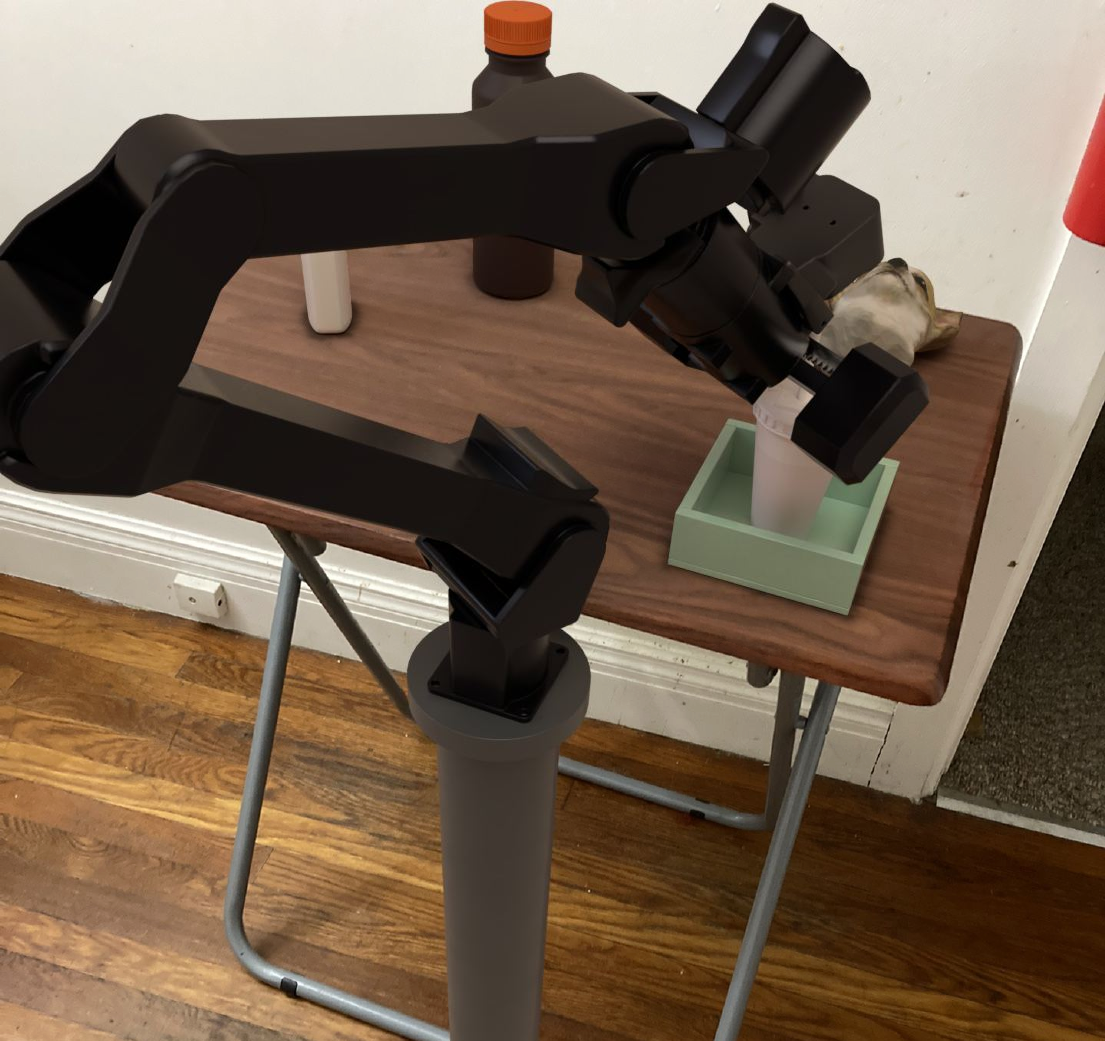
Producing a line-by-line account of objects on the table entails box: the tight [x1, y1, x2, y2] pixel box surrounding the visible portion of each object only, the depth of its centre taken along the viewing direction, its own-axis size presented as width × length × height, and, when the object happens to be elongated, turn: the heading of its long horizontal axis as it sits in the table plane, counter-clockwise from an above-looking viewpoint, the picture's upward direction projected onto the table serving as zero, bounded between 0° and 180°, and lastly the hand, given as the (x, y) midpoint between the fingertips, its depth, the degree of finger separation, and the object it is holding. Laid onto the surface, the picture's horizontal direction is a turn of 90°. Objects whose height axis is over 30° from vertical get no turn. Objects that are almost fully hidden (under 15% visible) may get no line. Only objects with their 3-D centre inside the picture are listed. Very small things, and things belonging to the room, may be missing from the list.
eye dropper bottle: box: [300, 250, 353, 334], centre depth 88 cm, size 4×6×12 cm
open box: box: [667, 418, 901, 616], centre depth 74 cm, size 12×12×4 cm
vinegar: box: [471, 0, 556, 299], centre depth 90 cm, size 7×7×20 cm
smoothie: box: [750, 332, 833, 541], centre depth 70 cm, size 6×6×14 cm
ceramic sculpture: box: [819, 257, 964, 377], centre depth 89 cm, size 11×9×15 cm
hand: (823, 416), depth 70 cm, fingers open, 9 cm apart
